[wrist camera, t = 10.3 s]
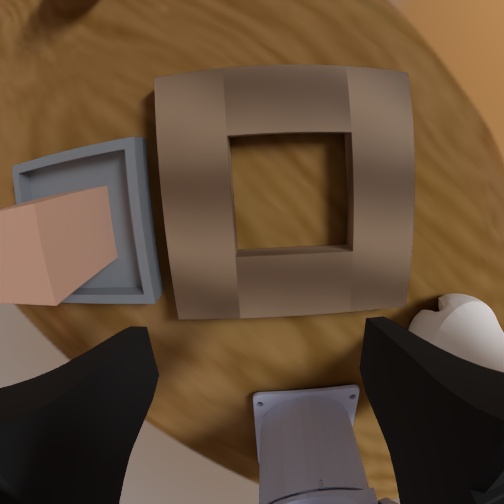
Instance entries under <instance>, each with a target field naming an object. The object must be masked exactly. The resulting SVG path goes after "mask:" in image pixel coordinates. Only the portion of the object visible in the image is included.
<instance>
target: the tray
mask: <svg viewBox="0 0 504 504" xmlns="http://www.w3.org/2000/svg"><path fill="white" fill-rule="evenodd" d="M12 170H13V181H14V191H15V199H16V205H17V204H20V203H24V202H27V201H31V200H35V199H39V198H43V197H47V196H51V195H55V194H61V193H66V192H71V191H77V190H83V189H88V188H94V187H100V186H107V189H108V197H109V205H110V213H111V220H112V227H113V233H114V239H115V245H116V251H117V257H118V258H116V259H115V260H114V261H112V262H111V263H110V264H108V265H107V266H106V267H104V268H103V269H102V270H100V271H99V272H98V273H97V274H95V275H94V276H93V277H91V278H90V279H89V280H88V281H86V282H85V283H84V284H82V285H81V286H80V287H79V288H77V289H76V290H75V291H74V292H72V293H71V294H70V295H69V296H67V297H66V298H65V299H64V300H63V301H61V302H60V303H96V304H156V302H157V301H158V299H159V298H160V296H161V295H162V293H163V292H164V291H163V285H162V279H161V273H160V266H159V260H158V253H157V246H156V239H155V231H154V223H153V215H152V206H151V197H150V187H149V176H148V165H147V151H146V138H141V137H129V138H123V139H118V140H113V141H108V142H103V143H98V144H94V145H89V146H85V147H80V148H76V149H72V150H68V151H64V152H60V153H56V154H52V155H49V156H45V157H41V158H38V159H34V160H31V161H28V162H24V163H21V164H18V165H15V166H12Z"/></svg>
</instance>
